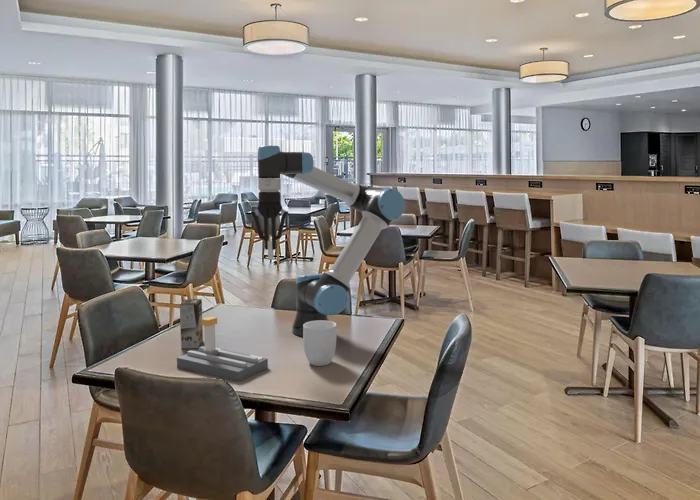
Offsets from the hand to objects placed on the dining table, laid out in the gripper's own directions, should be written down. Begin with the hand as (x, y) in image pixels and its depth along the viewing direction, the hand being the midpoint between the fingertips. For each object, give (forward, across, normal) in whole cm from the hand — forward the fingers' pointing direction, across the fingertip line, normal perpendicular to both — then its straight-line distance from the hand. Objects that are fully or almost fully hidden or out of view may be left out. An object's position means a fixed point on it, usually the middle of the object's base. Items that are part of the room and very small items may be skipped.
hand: (270, 258), depth 197 cm
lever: (+29, -17, -18) cm, 38 cm away
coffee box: (+33, -30, +4) cm, 44 cm away
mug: (+33, +18, -14) cm, 40 cm away
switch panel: (+32, -13, -20) cm, 40 cm away
